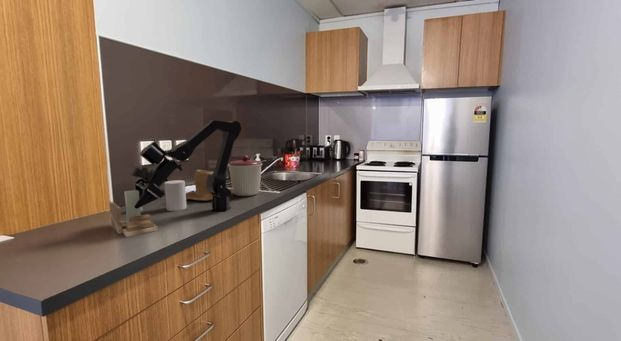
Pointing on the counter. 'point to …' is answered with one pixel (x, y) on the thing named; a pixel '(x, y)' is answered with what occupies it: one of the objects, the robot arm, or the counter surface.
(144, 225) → the offcut stack
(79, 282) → the counter surface
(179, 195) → the cup
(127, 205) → the pale green upright block
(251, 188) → the canister
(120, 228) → the rack
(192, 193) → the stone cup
